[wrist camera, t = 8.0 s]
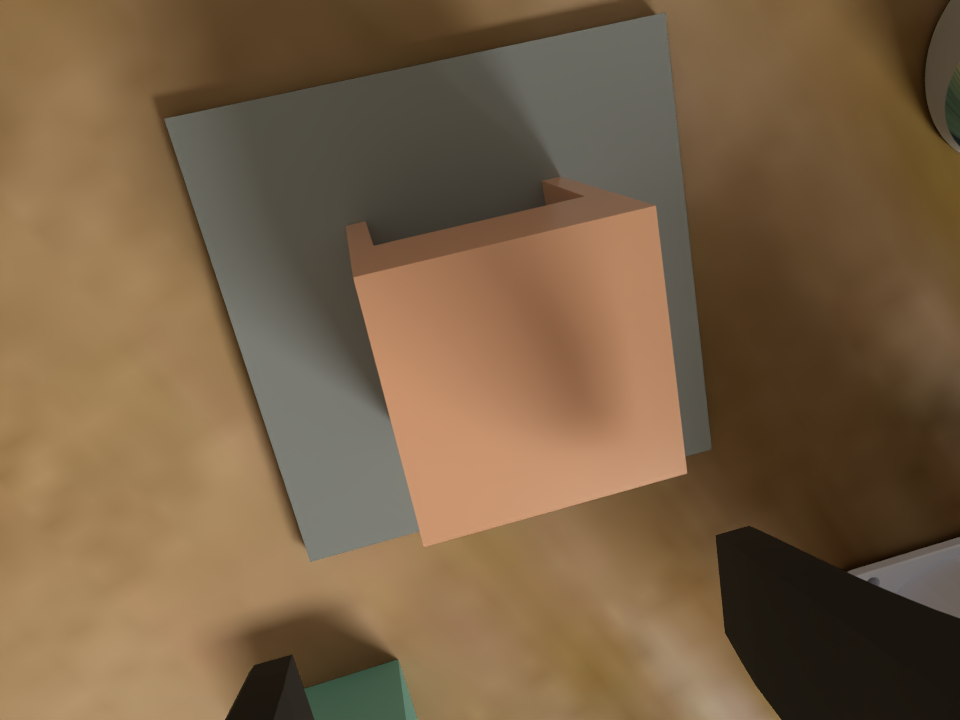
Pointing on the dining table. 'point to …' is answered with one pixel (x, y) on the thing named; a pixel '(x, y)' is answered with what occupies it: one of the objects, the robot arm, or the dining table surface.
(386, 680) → the teal cube
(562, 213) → the terracotta cover
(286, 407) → the slate mat
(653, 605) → the dining table surface
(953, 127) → the lotion bottle
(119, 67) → the dining table surface
